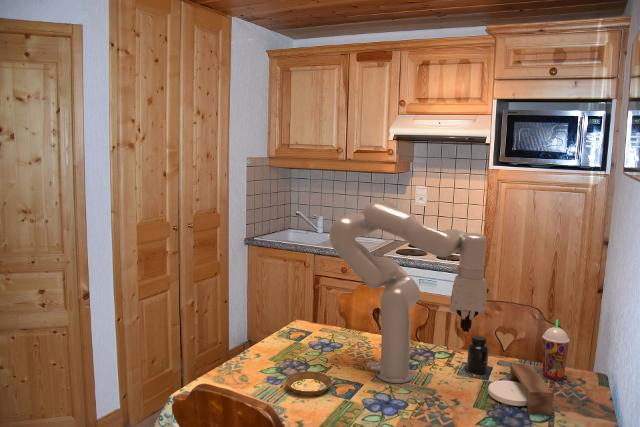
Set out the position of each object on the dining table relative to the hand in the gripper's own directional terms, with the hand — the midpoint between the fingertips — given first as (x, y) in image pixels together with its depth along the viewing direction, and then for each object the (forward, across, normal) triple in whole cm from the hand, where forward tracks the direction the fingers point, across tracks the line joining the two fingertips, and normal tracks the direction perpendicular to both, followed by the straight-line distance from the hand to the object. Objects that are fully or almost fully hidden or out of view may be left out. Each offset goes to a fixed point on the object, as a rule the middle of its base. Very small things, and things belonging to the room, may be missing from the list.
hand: (465, 330), depth 164 cm
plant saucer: (+23, -48, -3) cm, 53 cm away
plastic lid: (+20, +16, -2) cm, 26 cm away
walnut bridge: (+20, +20, -2) cm, 28 cm away
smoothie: (+19, +34, +15) cm, 42 cm away
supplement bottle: (+20, +9, +17) cm, 28 cm away
